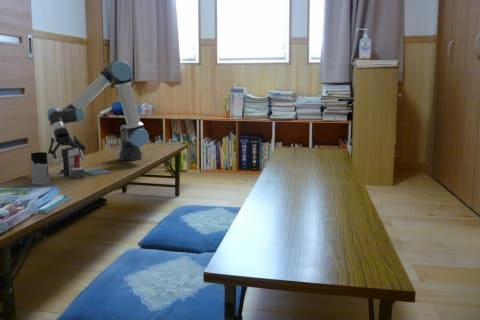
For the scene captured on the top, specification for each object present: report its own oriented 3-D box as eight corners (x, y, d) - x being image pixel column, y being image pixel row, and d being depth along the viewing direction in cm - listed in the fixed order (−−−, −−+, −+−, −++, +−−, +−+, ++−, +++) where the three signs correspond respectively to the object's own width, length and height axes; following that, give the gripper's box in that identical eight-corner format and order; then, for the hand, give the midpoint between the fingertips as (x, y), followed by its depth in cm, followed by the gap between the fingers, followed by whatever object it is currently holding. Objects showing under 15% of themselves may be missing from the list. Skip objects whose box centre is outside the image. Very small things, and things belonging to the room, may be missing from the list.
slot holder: (71, 171, 255) (70, 162, 254) (84, 177, 240) (84, 168, 239) (59, 172, 251) (59, 163, 250) (73, 178, 236) (72, 169, 235)
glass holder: (32, 180, 229) (30, 152, 227) (61, 179, 234) (60, 151, 232) (30, 184, 221) (28, 155, 219) (61, 182, 226) (59, 154, 224)
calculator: (69, 177, 239) (68, 149, 237) (62, 176, 240) (61, 149, 238) (81, 173, 250) (79, 146, 247) (74, 172, 251) (72, 146, 248)
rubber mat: (98, 168, 263) (98, 167, 263) (110, 172, 252) (110, 171, 251) (80, 170, 256) (80, 169, 256) (91, 175, 244) (91, 174, 244)
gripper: (80, 134, 262) (91, 163, 253) (36, 137, 245) (46, 167, 237) (83, 126, 257) (95, 155, 248) (38, 128, 241) (49, 159, 232)
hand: (71, 161), depth 243 cm, fingers open, 13 cm apart
